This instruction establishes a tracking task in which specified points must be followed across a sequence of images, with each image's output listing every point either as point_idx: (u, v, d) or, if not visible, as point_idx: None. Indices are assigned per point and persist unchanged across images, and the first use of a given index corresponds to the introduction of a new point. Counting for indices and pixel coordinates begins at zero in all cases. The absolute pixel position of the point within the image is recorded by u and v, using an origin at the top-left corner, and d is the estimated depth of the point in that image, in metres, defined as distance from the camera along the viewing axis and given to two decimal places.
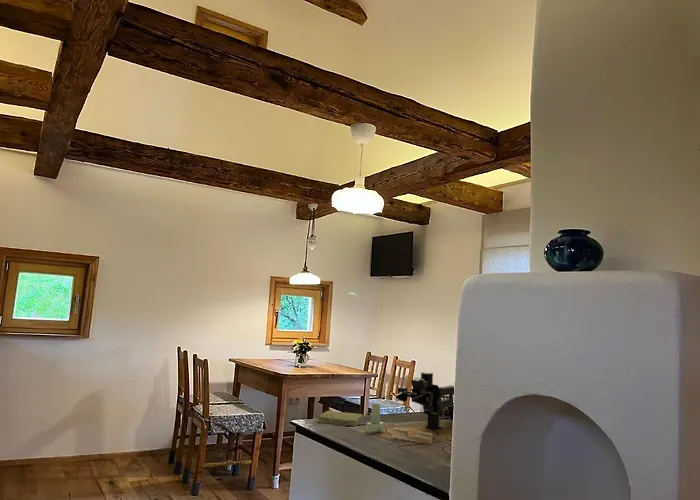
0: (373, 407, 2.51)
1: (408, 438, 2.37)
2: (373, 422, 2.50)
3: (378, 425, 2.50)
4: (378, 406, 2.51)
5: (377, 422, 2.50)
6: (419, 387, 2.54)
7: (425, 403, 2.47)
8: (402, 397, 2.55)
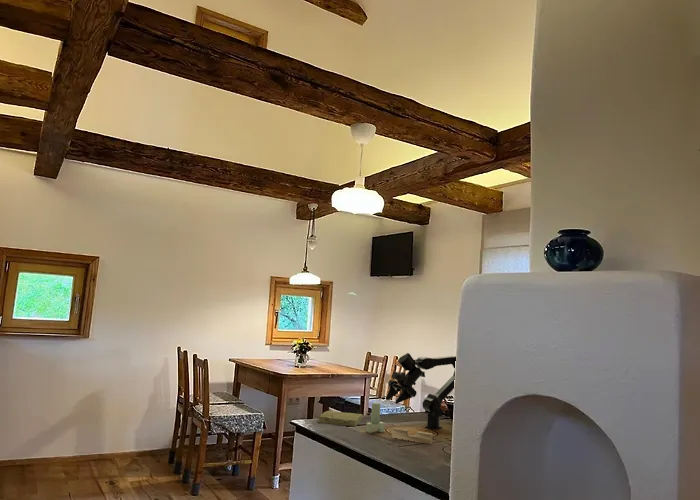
0: (373, 407, 2.51)
1: (408, 438, 2.37)
2: (373, 422, 2.50)
3: (378, 425, 2.50)
4: (378, 406, 2.51)
5: (377, 422, 2.50)
6: (400, 380, 2.57)
7: (409, 396, 2.52)
8: (394, 392, 2.62)
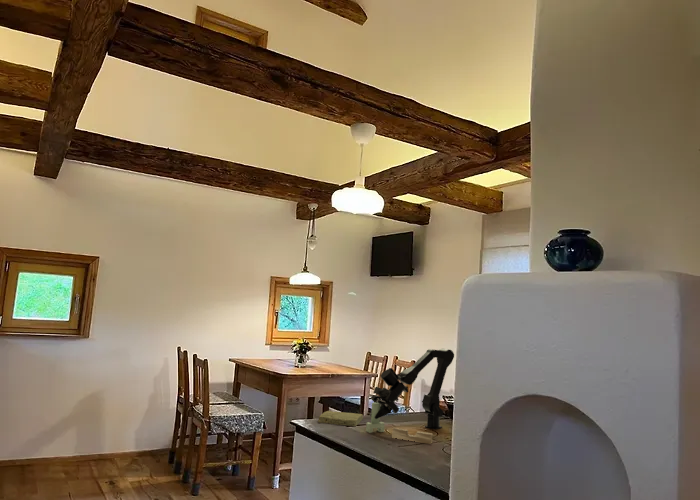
0: (373, 407, 2.51)
1: (408, 438, 2.37)
2: (373, 422, 2.50)
3: (378, 425, 2.50)
4: (378, 406, 2.51)
5: (377, 422, 2.50)
6: (382, 396, 2.52)
7: (389, 411, 2.49)
8: None
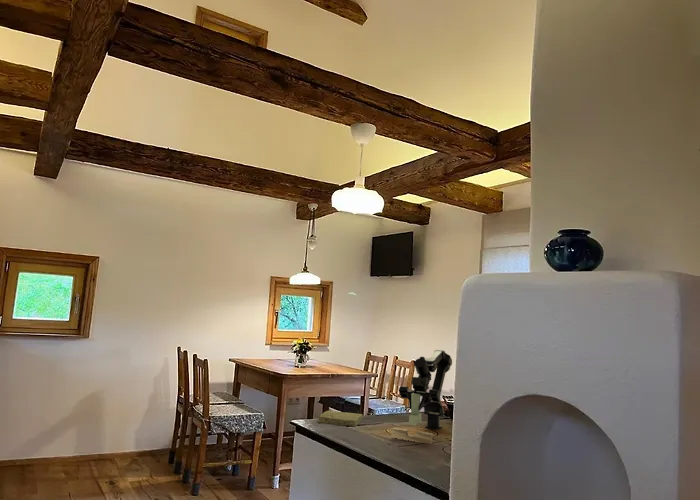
0: (416, 398, 2.40)
1: (408, 438, 2.37)
2: (416, 414, 2.40)
3: (419, 416, 2.41)
4: None
5: (419, 413, 2.41)
6: (421, 386, 2.44)
7: (429, 401, 2.44)
8: None
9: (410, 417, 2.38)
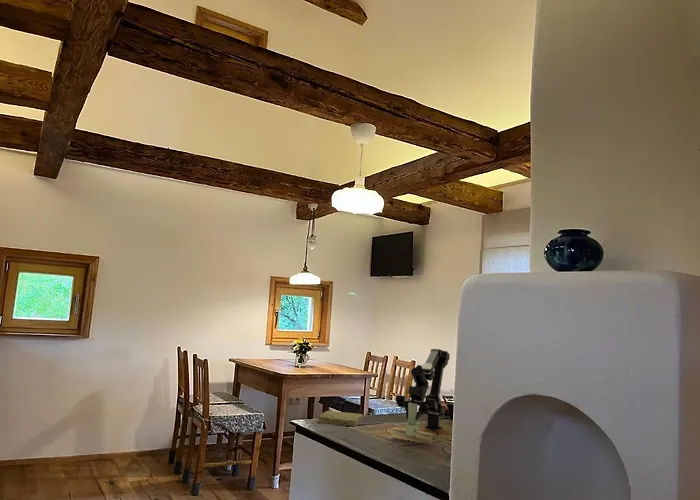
0: (413, 408, 2.37)
1: (408, 438, 2.37)
2: (413, 424, 2.36)
3: (416, 426, 2.38)
4: None
5: (416, 423, 2.37)
6: (418, 395, 2.40)
7: (426, 410, 2.40)
8: None
9: (407, 427, 2.35)
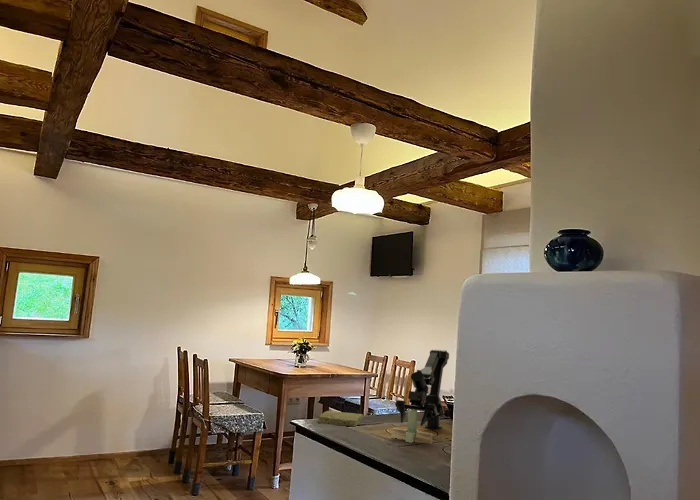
0: (412, 415, 2.36)
1: None
2: (413, 431, 2.36)
3: (415, 433, 2.38)
4: (416, 413, 2.38)
5: (416, 430, 2.37)
6: (418, 400, 2.40)
7: (431, 416, 2.39)
8: (404, 413, 2.43)
9: (407, 434, 2.34)
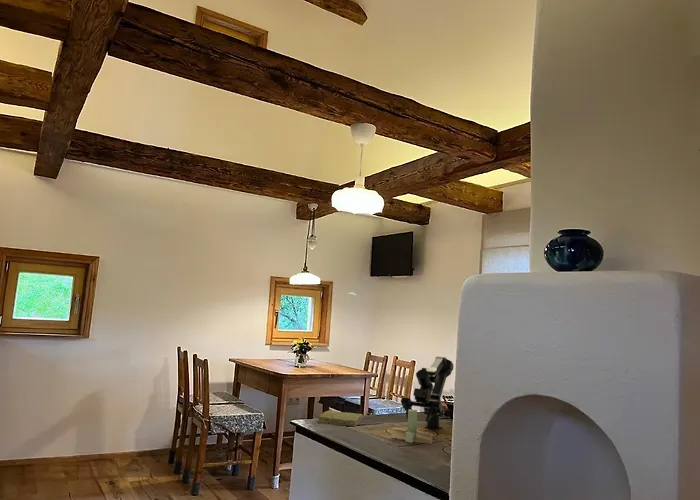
0: (412, 415, 2.36)
1: None
2: (413, 431, 2.36)
3: (415, 433, 2.38)
4: (416, 413, 2.38)
5: (416, 430, 2.37)
6: (423, 397, 2.46)
7: (436, 413, 2.45)
8: None
9: (407, 434, 2.34)
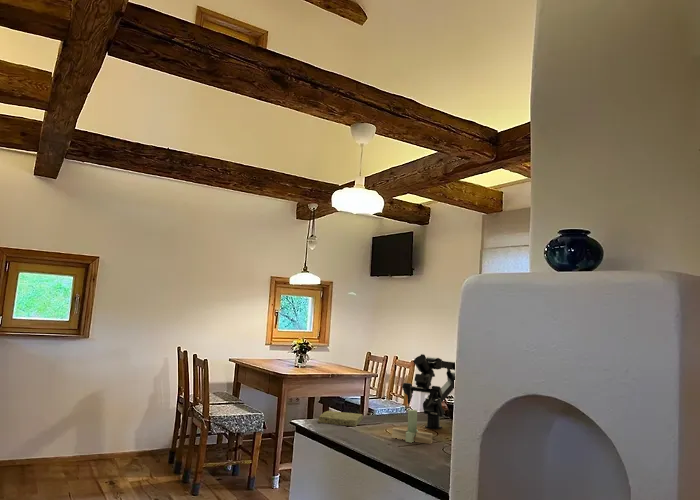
0: (412, 415, 2.36)
1: None
2: (413, 431, 2.36)
3: (415, 433, 2.38)
4: (416, 413, 2.38)
5: (416, 430, 2.37)
6: (424, 382, 2.53)
7: (437, 397, 2.52)
8: (411, 395, 2.56)
9: (407, 434, 2.34)
